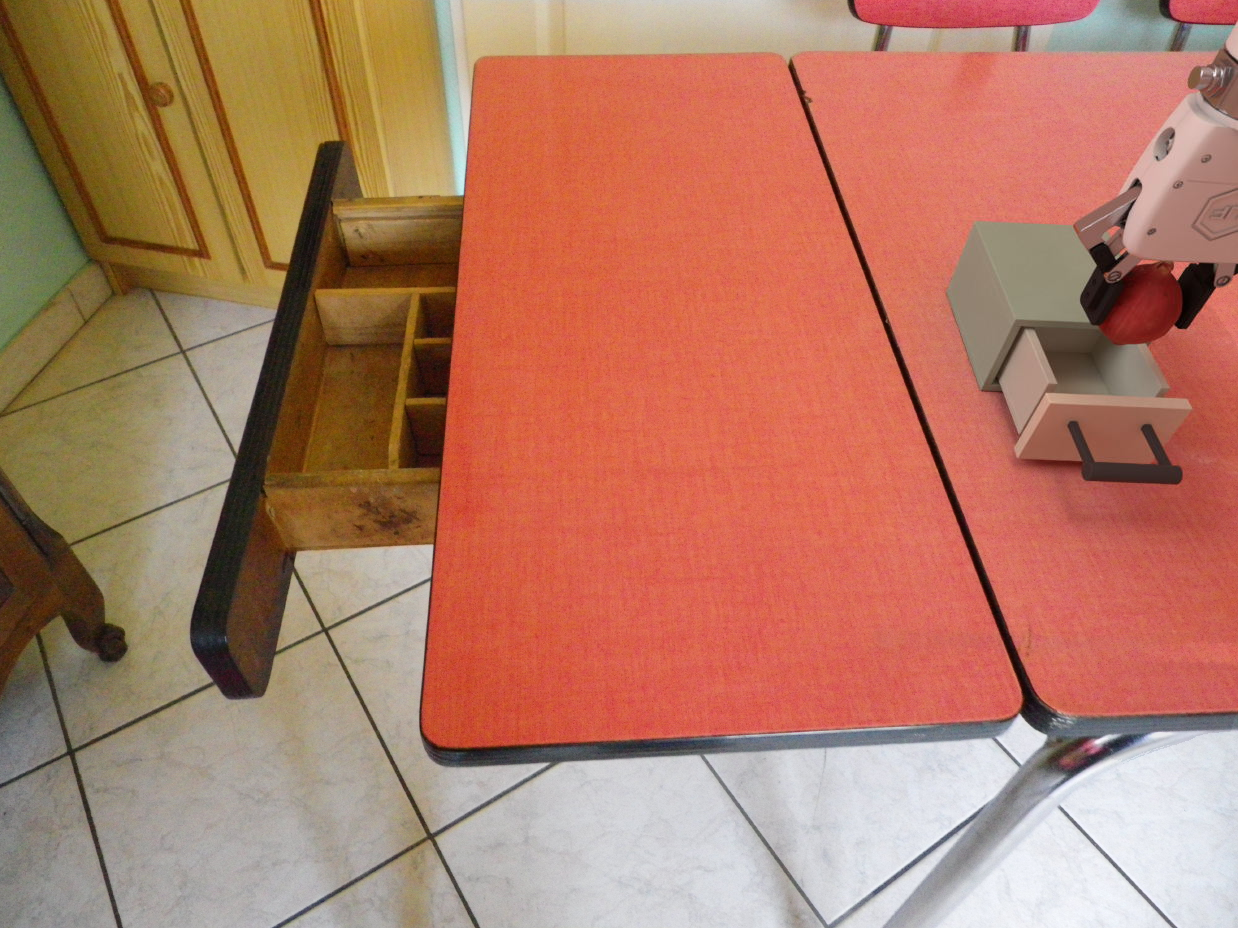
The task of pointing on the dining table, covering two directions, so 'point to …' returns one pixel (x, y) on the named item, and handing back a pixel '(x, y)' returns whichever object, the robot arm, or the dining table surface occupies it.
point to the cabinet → (1016, 288)
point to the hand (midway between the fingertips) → (1132, 314)
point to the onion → (1145, 305)
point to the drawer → (1091, 404)
